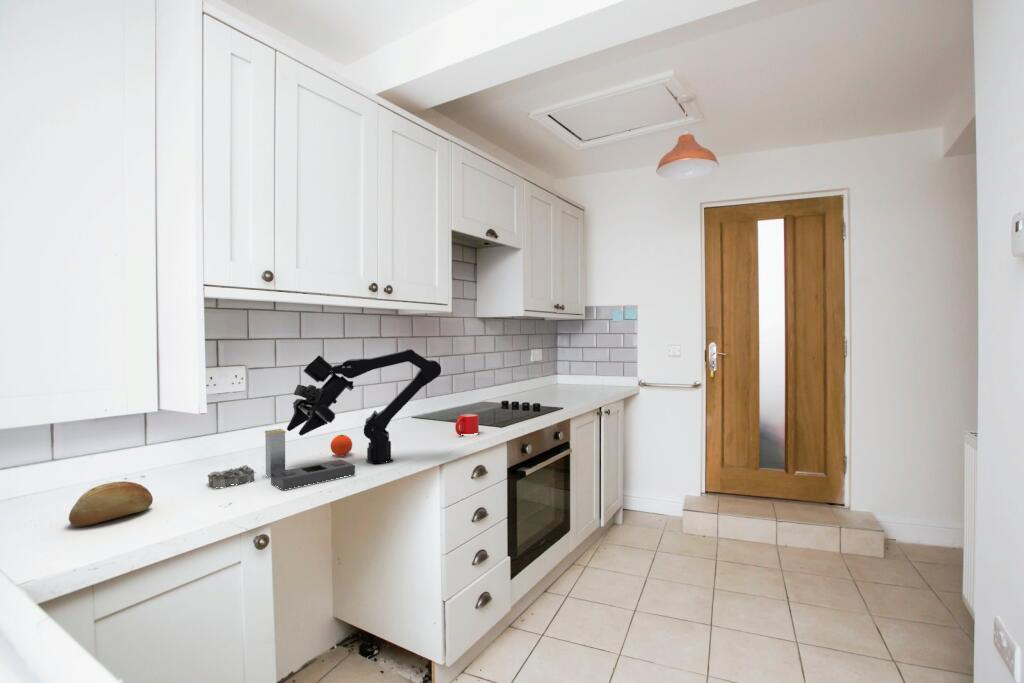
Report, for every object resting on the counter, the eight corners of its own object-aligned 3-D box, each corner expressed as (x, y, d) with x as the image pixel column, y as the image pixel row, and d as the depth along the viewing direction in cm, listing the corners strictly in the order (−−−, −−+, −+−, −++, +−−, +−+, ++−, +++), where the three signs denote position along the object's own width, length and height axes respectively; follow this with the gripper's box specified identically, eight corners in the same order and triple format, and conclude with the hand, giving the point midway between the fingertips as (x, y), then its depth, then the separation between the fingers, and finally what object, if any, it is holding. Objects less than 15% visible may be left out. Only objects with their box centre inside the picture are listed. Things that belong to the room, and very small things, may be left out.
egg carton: (214, 491, 130) (213, 475, 130) (205, 485, 136) (205, 470, 136) (257, 482, 138) (257, 467, 138) (247, 476, 143) (247, 462, 143)
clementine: (328, 453, 170) (328, 433, 169) (350, 451, 173) (349, 431, 173) (332, 459, 162) (331, 437, 162) (354, 456, 166) (353, 435, 165)
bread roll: (161, 512, 114) (161, 478, 114) (78, 534, 102) (77, 495, 102) (144, 504, 120) (143, 471, 119) (62, 524, 107) (62, 487, 107)
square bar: (280, 472, 146) (280, 428, 146) (285, 475, 143) (285, 430, 143) (265, 475, 143) (264, 430, 143) (270, 478, 140) (270, 432, 140)
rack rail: (340, 469, 150) (340, 459, 150) (354, 475, 144) (354, 464, 144) (270, 483, 136) (270, 472, 136) (283, 490, 130) (283, 479, 130)
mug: (448, 436, 198) (448, 417, 197) (466, 431, 208) (466, 412, 208) (464, 439, 193) (464, 418, 193) (482, 433, 204) (482, 414, 203)
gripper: (299, 373, 157) (262, 411, 150) (324, 376, 144) (285, 419, 136) (323, 395, 163) (289, 434, 155) (350, 401, 149) (313, 443, 142)
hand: (293, 432), depth 147 cm, fingers open, 9 cm apart
